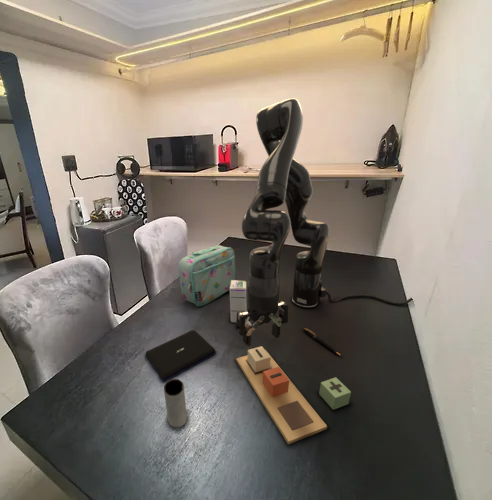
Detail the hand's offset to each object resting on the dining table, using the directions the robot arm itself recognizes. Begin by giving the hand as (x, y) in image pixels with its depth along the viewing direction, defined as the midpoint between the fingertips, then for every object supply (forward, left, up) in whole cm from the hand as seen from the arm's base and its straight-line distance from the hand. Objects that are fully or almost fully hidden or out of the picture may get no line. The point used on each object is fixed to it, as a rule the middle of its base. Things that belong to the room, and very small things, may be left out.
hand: (261, 339), depth 72 cm
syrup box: (-5, -23, -10) cm, 26 cm away
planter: (+26, +7, -10) cm, 29 cm away
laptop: (+20, -13, -10) cm, 26 cm away
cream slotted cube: (+1, 0, -9) cm, 9 cm away
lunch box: (0, -42, -10) cm, 43 cm away
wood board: (0, +8, -10) cm, 13 cm away
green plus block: (-12, +15, -10) cm, 21 cm away
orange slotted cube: (0, +8, -9) cm, 12 cm away
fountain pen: (-23, -2, -10) cm, 25 cm away
